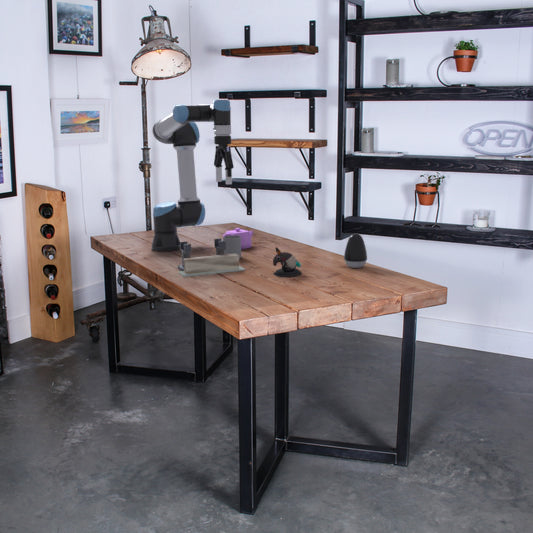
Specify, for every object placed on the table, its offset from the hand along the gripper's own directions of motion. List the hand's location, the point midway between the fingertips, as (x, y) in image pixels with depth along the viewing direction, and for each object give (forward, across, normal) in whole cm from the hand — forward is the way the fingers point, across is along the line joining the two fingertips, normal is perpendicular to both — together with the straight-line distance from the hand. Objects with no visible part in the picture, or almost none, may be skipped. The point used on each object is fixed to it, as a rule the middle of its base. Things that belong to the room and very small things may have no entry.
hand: (223, 183), depth 291 cm
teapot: (+37, -29, +17) cm, 50 cm away
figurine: (+37, +34, +16) cm, 53 cm away
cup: (+37, -8, +6) cm, 38 cm away
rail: (+36, +16, -12) cm, 41 cm away
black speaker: (+37, +35, +49) cm, 71 cm away
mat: (+37, +16, -12) cm, 42 cm away
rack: (+37, +7, -13) cm, 40 cm away
